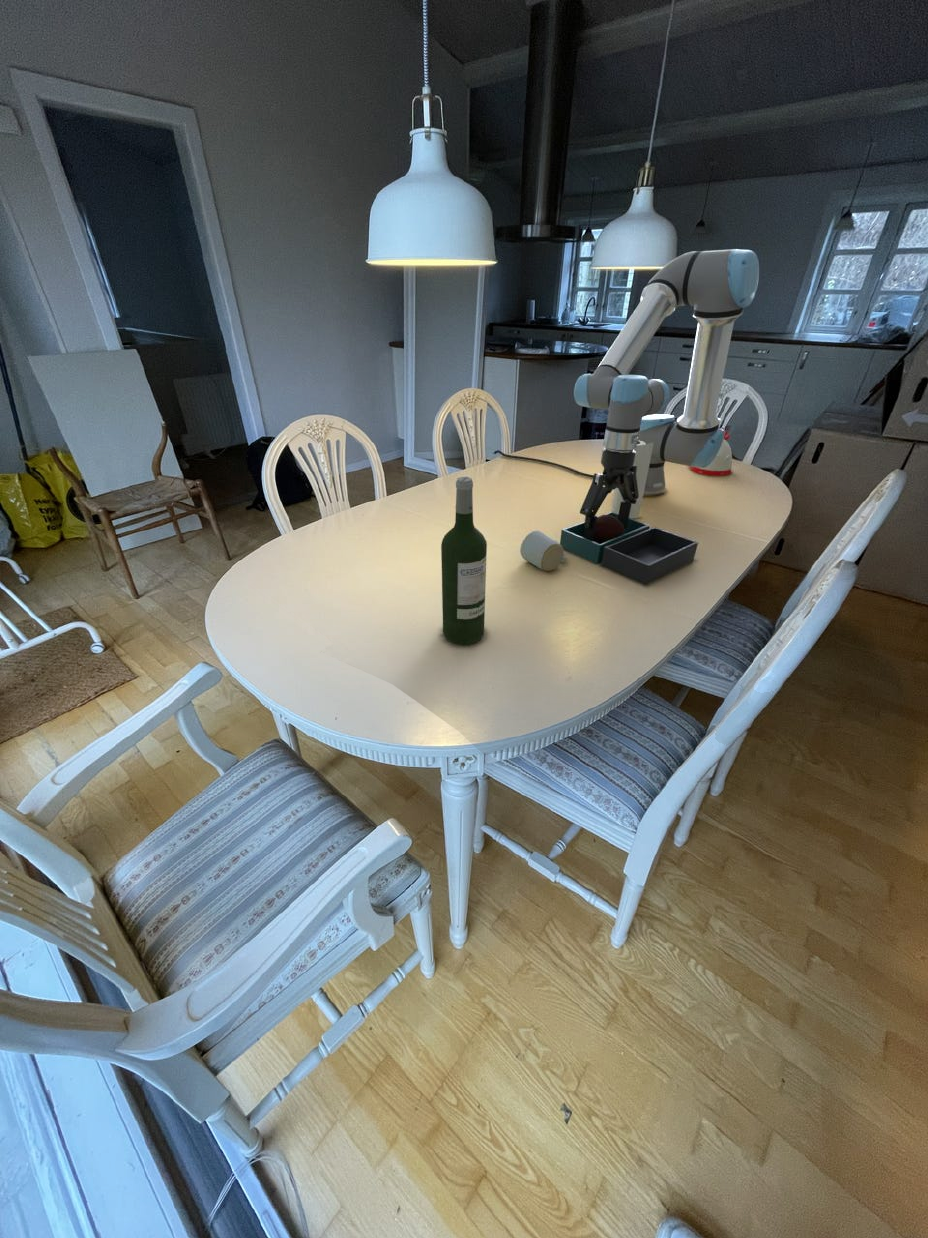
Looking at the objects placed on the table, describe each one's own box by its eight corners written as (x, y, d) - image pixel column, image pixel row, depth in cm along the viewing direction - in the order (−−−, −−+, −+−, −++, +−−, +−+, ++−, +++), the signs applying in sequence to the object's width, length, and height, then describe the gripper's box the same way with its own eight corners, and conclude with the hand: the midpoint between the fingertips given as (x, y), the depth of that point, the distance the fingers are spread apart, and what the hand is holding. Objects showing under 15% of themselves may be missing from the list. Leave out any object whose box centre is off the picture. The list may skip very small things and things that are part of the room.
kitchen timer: (683, 465, 193) (693, 423, 185) (717, 464, 195) (728, 423, 187) (701, 476, 182) (712, 432, 174) (737, 474, 183) (750, 431, 175)
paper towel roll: (606, 516, 148) (618, 441, 137) (616, 511, 152) (629, 437, 140) (628, 523, 144) (643, 446, 133) (638, 517, 148) (653, 442, 136)
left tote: (559, 547, 130) (561, 529, 128) (608, 528, 141) (611, 511, 138) (597, 564, 122) (600, 545, 120) (646, 542, 133) (650, 525, 130)
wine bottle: (470, 650, 93) (472, 490, 76) (434, 637, 96) (430, 481, 80) (491, 630, 98) (498, 476, 82) (457, 618, 102) (457, 468, 86)
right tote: (601, 565, 122) (604, 547, 119) (650, 544, 132) (654, 526, 130) (644, 585, 114) (649, 565, 111) (693, 560, 124) (698, 542, 122)
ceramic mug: (541, 576, 117) (545, 545, 113) (518, 563, 122) (521, 533, 118) (574, 565, 122) (578, 535, 118) (550, 553, 128) (554, 524, 124)
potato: (620, 552, 127) (625, 523, 123) (583, 547, 130) (587, 518, 126) (623, 540, 133) (628, 512, 129) (587, 535, 136) (591, 507, 132)
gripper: (598, 461, 109) (585, 551, 121) (664, 443, 123) (646, 525, 134) (571, 454, 114) (561, 540, 126) (637, 437, 128) (623, 517, 139)
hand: (605, 533), depth 130 cm, fingers open, 13 cm apart
